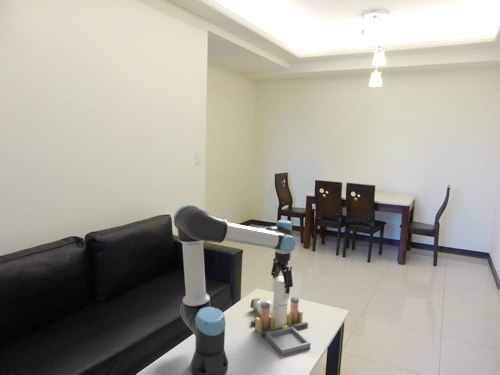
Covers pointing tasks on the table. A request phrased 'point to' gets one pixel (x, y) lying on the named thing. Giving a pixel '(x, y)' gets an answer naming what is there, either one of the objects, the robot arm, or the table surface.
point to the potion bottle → (257, 305)
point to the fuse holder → (258, 326)
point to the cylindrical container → (279, 303)
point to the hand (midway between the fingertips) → (280, 294)
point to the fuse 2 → (294, 309)
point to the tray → (287, 341)
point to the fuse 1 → (265, 316)
